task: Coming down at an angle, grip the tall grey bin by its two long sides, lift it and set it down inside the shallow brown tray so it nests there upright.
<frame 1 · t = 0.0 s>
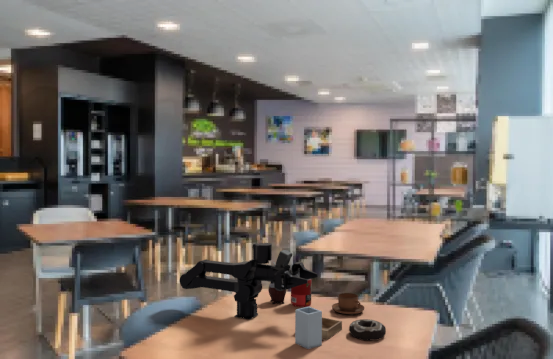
hand: (312, 278, 166), 17 cm above the table, tool horizontal, fingers open, 9 cm apart
shallow brown tray: (319, 331, 162), on the table
tall grey bin: (308, 344, 151), on the table
mate gourd: (276, 302, 195), on the table
donut: (367, 336, 159), on the table
cup and saucer: (348, 312, 184), on the table
canned food: (301, 305, 192), on the table
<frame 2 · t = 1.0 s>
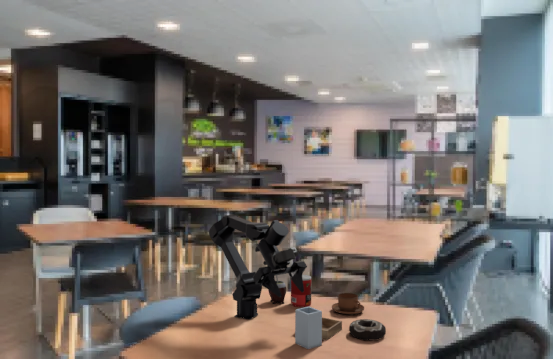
hand: (292, 294, 157), 14 cm above the table, tool tilted 45°, fingers open, 9 cm apart
nothing on the table moved.
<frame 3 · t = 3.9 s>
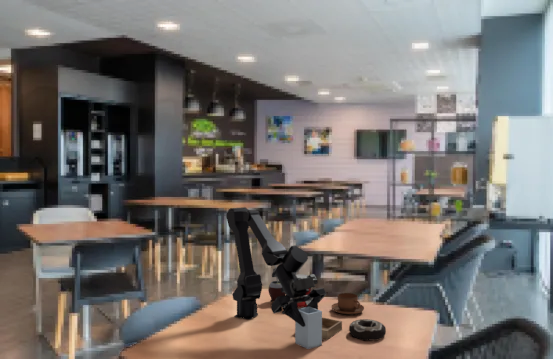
hand: (311, 324, 150), 7 cm above the table, tool tilted 45°, fingers closed on tall grey bin, 5 cm apart
tall grey bin: (308, 344, 151), on the table, touching gripper
everything else where it was.
when the fingers open (8 cm above the table, at t = 7.5 s): tall grey bin drops 1 cm, resting on shallow brown tray.
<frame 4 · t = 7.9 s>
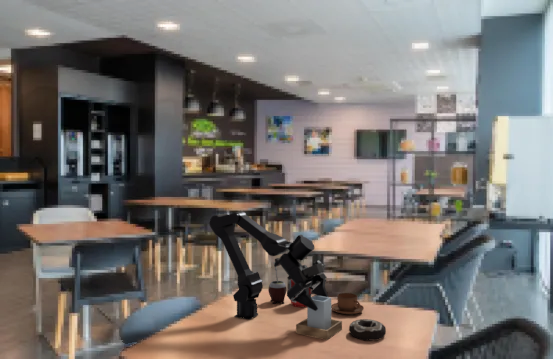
hand: (323, 306, 161), 9 cm above the table, tool tilted 45°, fingers open, 9 cm apart
tall grey bin: (319, 330, 162), resting on shallow brown tray
everything else where it was.
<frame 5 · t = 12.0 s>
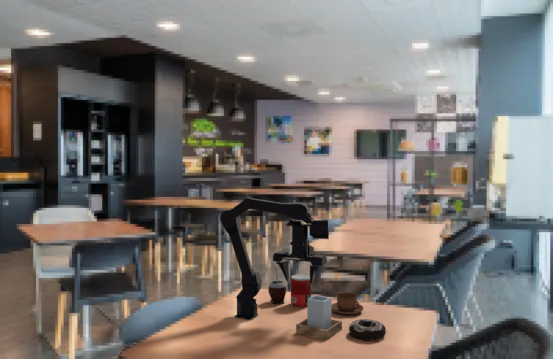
hand: (299, 282, 174), 13 cm above the table, tool pointing down, fingers open, 9 cm apart
nothing on the table moved.
at the end: tall grey bin inside the target area on the shallow brown tray (0.0 cm from its centre), point 0.5 cm above the shallow brown tray's base; tall grey bin tilted 0°; the gripper is holding nothing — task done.
